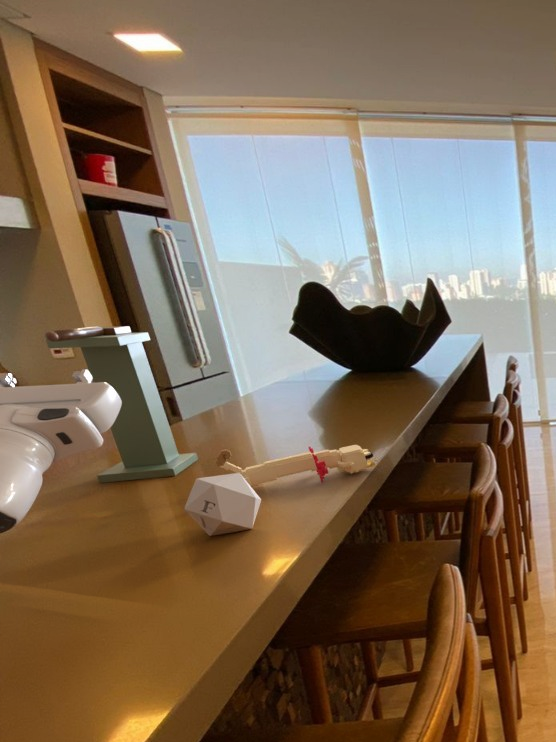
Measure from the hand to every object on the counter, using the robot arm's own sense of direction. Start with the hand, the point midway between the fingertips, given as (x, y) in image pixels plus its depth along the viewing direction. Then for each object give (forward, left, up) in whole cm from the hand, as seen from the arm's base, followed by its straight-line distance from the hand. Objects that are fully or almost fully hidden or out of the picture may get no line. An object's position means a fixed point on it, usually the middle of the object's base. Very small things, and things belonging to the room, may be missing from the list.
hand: (46, 374), depth 87 cm
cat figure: (+31, +2, -22) cm, 38 cm away
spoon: (0, +15, +4) cm, 15 cm away
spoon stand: (0, +19, -22) cm, 29 cm away
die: (+25, -20, -22) cm, 39 cm away
